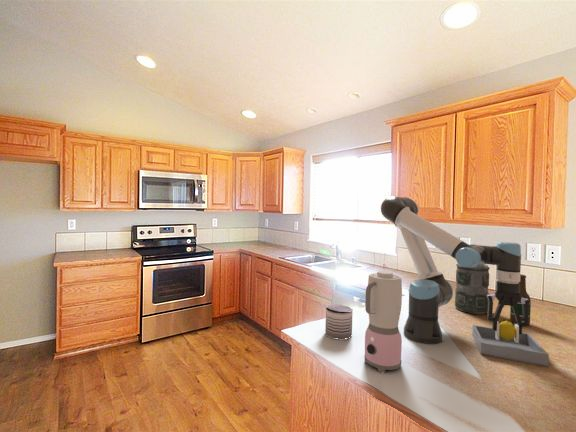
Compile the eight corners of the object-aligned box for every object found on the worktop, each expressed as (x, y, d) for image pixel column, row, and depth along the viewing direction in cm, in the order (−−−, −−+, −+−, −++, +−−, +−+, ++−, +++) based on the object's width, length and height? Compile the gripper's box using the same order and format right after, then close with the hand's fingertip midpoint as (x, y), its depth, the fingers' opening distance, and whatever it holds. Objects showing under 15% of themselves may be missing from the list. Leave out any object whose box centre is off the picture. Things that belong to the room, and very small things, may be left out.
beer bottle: (511, 319, 150) (513, 272, 150) (531, 323, 145) (532, 275, 145) (508, 323, 145) (510, 274, 145) (528, 327, 139) (530, 277, 139)
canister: (470, 315, 154) (472, 262, 154) (448, 306, 170) (449, 257, 169) (495, 314, 158) (497, 262, 157) (471, 305, 173) (473, 257, 173)
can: (320, 331, 130) (321, 303, 129) (342, 327, 134) (343, 301, 134) (333, 341, 119) (334, 312, 119) (357, 338, 123) (358, 309, 123)
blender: (379, 352, 111) (381, 267, 110) (408, 366, 101) (411, 273, 100) (350, 363, 102) (352, 271, 101) (379, 380, 92) (382, 278, 91)
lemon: (498, 336, 120) (499, 317, 120) (515, 340, 116) (516, 320, 116) (497, 341, 115) (498, 320, 115) (515, 345, 112) (515, 324, 112)
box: (480, 354, 111) (481, 342, 111) (472, 334, 129) (472, 324, 129) (548, 367, 103) (548, 354, 103) (528, 344, 121) (529, 333, 121)
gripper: (482, 280, 116) (480, 339, 116) (541, 286, 109) (539, 349, 109) (478, 277, 123) (477, 332, 123) (534, 282, 115) (532, 341, 116)
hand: (506, 340), depth 116 cm, fingers closed on lemon, 5 cm apart
